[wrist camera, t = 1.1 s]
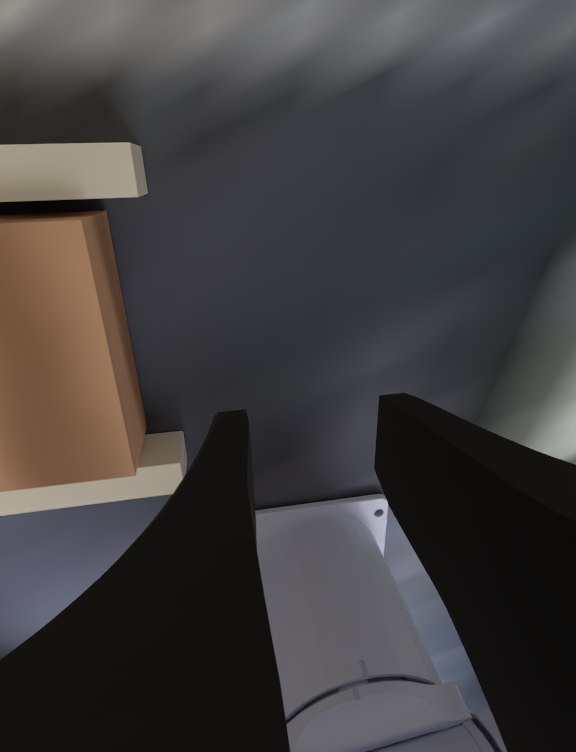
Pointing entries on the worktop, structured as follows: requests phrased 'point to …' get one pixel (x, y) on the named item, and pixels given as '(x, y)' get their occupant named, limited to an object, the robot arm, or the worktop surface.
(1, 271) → the block
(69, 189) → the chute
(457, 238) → the worktop surface
